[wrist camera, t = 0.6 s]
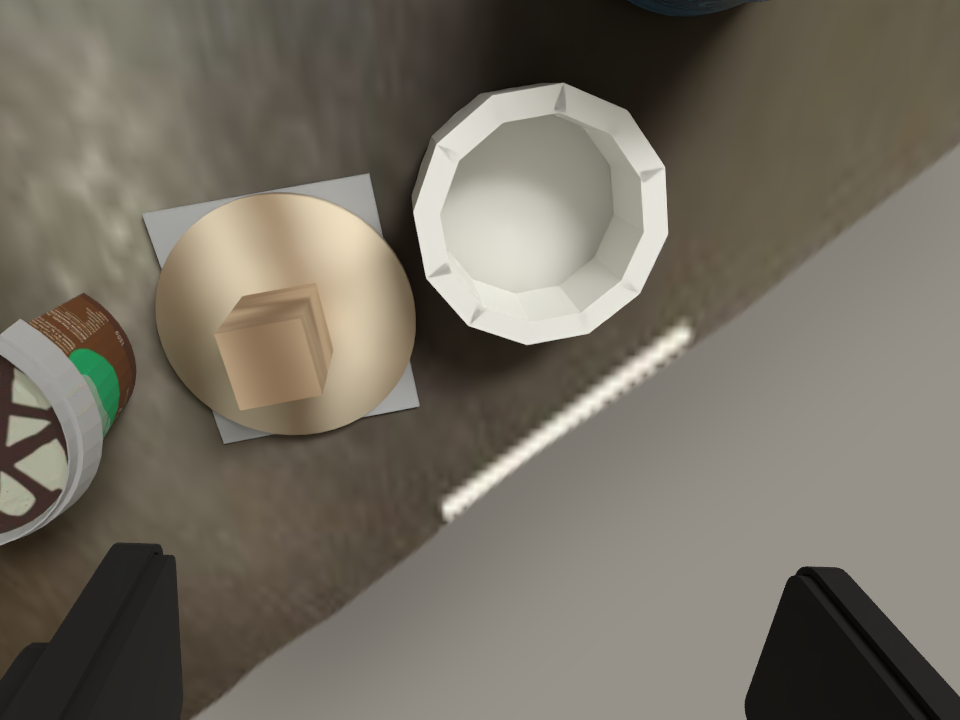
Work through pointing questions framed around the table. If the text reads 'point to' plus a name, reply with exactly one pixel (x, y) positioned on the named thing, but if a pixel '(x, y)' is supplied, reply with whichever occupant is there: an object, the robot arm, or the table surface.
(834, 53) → the table surface
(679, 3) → the canister
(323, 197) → the mat
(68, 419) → the food container
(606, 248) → the bowl
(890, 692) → the robot arm
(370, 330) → the lid
